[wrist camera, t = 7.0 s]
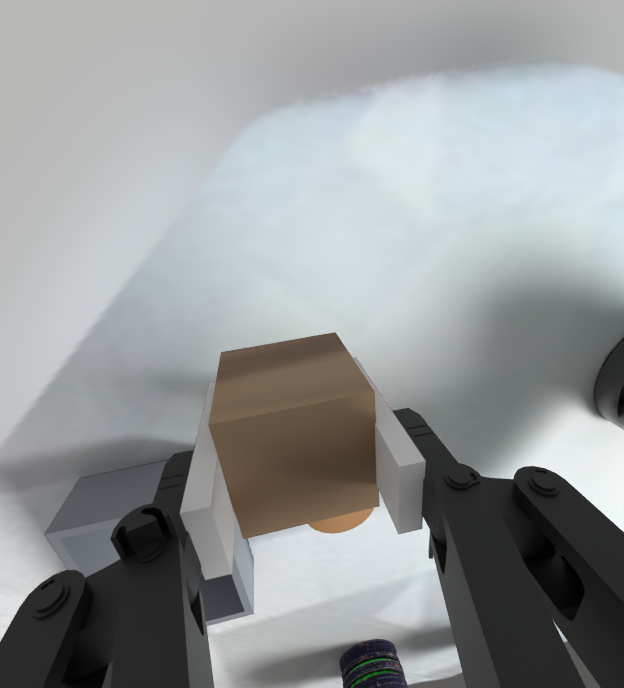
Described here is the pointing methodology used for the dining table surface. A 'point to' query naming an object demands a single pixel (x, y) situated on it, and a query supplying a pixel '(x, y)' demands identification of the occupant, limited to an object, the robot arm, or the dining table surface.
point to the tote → (115, 503)
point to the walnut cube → (294, 433)
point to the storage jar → (372, 666)
